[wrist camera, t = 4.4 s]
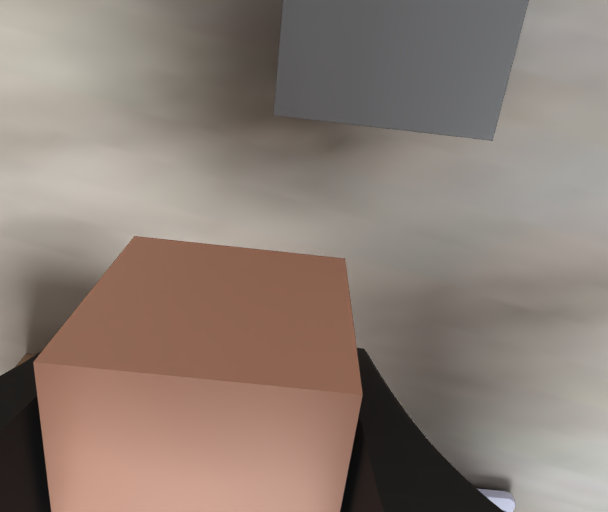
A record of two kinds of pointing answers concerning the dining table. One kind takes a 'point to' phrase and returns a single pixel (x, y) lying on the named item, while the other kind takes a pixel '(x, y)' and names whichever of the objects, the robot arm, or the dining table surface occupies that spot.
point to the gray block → (398, 63)
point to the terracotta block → (203, 384)
